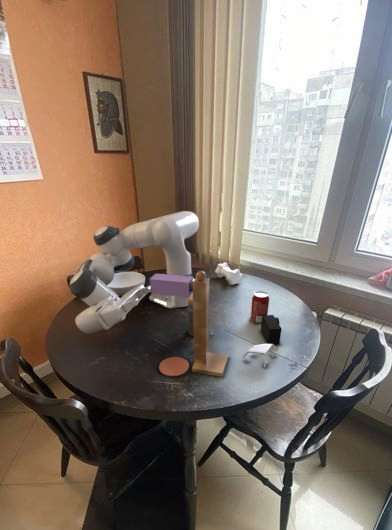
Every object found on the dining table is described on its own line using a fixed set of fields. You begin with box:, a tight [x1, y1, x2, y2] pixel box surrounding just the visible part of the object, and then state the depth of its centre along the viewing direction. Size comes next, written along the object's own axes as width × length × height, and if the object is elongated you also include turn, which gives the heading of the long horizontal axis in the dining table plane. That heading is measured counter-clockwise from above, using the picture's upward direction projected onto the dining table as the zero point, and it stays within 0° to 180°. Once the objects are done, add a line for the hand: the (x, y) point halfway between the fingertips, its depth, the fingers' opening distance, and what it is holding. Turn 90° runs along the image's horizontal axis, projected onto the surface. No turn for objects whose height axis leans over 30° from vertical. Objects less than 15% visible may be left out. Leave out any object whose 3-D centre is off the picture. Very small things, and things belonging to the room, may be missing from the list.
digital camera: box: [260, 314, 283, 346], centre depth 113 cm, size 10×5×7 cm, turn 5°
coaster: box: [158, 356, 190, 378], centre depth 100 cm, size 10×10×1 cm
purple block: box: [148, 273, 194, 297], centre depth 89 cm, size 12×5×5 cm, turn 74°
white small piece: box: [242, 343, 279, 368], centre depth 101 cm, size 12×8×5 cm
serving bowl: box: [107, 271, 146, 297], centre depth 151 cm, size 21×21×7 cm
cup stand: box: [189, 270, 229, 378], centre depth 93 cm, size 18×10×33 cm, turn 74°
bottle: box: [186, 295, 194, 337], centre depth 115 cm, size 6×6×15 cm
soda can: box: [249, 290, 270, 324], centre depth 123 cm, size 7×7×12 cm
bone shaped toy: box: [214, 261, 243, 286], centre depth 161 cm, size 15×9×8 cm, turn 27°
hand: (144, 294), depth 94 cm, fingers open, 8 cm apart
